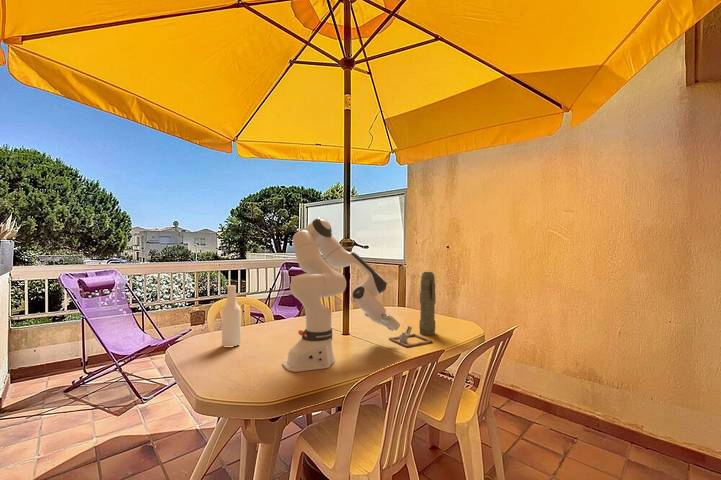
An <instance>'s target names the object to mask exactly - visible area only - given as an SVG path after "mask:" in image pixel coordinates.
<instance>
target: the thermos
mask: <svg viewBox="0 0 721 480" xmlns="http://www.w3.org/2000/svg"><path fill="white" fill-rule="evenodd" d="M435 280H436V277H435V274H434V273H433V272H432V271H424V272H422V274H421V277H420V293H419V303H420V319H419V325H418V327H419V334H420V335H422V336H430V335H431V336H434V334H436V320H435V313H436V311H435V310H436V309H435V306H436V305H435V304H436V297H437V295H436V281H435Z"/></svg>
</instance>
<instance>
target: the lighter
mask: <svg viewBox="0 0 721 480" xmlns="http://www.w3.org/2000/svg"><path fill="white" fill-rule="evenodd" d="M412 329H413V327H412V326H409V325H407V329H406V332H405V331H403V332H401V333H400V334H399V336H400V339H399V342H402V343H404V344H407V343H408V337H407V336H408V335H410V334H411V332H412Z"/></svg>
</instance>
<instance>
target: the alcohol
mask: <svg viewBox="0 0 721 480" xmlns="http://www.w3.org/2000/svg"><path fill="white" fill-rule="evenodd" d="M236 287H237V285H235V284H230V285H227V296H226V303H225V305H224V306H223V307H222V311H221V346H222V345H223V346H237V345H239V344H240V345H241V343H242V309H241V306H240V305H239V304H238V300H237V292H236V291H237V288H236ZM240 345H239V346H240ZM223 346H222V347H223Z"/></svg>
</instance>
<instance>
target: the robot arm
mask: <svg viewBox="0 0 721 480" xmlns="http://www.w3.org/2000/svg"><path fill="white" fill-rule="evenodd" d="M332 232H333V231H332V227H331V224H330V223H329V222H328V221H327V219H325V218H323V217H317V218H315V219H314V220H312V222H311V223H309V224H308V225H306V227H304V228H302V229H301V230H299V231H297V232H295V234H294V235H293V237H292V244H293V250H294V254H295V257H296V261H297V263H298V267H299V268H300V269H301V270H302V271H303V272H304V273H301V274H298V275H295V276H293V278H292V279H291V282H290V286H289V290H290V292H291V294H292V296H294V298H296V299H297V300H298V301H299V302H300V303H301V305H302V306H303V309H304V312H305V313H304V314H305V329H304V331H303V330H302V329H298V331H297V333H298V335H299V336H301V338H300V339H299V340H298V341H297V342H296V343H295V344H294V345H292V346H291V347H290V348H289V350H288V353H287V354H288V355H287V358H284V359H283V360H282V366H283V368H284V369H286V370H287V371H289V372H292V373H296V372H305V371H306V372H307V371H313V370H322V369H329V368H330V367H331V365H333V364H334V363H335V361H336V360H335V356H334V352H333V343H332V341H333V328H332V311H331V309H330V308H329V307H328V306H326V305H324V304H322V303H321V298H328V297H331V298H332V297H335V296H336V297H337V296H338V295H341V294H343V293H344V292H345V291H346V288H347V280H346V277H345V275H344V274H343V273H342V272H338V271H337V270H335V269H342V268H346V267H349V266H357V267H359V268H360V269H361V270H362V271H363V272H364V273H366V275H367V276H368V278H367V279H365V280H364V281H363V282H362V283H360V284H358V285H357V286H356V287H354V288H353V290H352V294H351V295H352V296H351V297H352V300H353V302H354V303H355V304H356V305H357V306H358V307H359V308H360V309H361V310H362V311H363V312H364V313H363V314H364V316H365V317H368V319H370V320H371V321H372V322H373V323H376V324H378V325H381V326H384V327H385V328H387V330H389V331H391V332H393V331H398V329H399V328H400V327H401V324H400V323H399V321H398V320H397V319H396V318H394V316H392V315H390V314H387V313H386V312H387V310H386V308H385V306H384V305H383V304H382V303H381V302H380V301H379V300H377V298H376V297H377V296H378V295H379V294H382V293H383V292H385V291H386V289H387V285H388V282H387V280H386V279H385V277H383V276H382V275H381V274H379V273H378V272H377V271H376V270H375V269H374V268H372V266H370V265H369V263H367V262H366V261H365V260H364V259H363V258H362V257H361V256H359V255H358V254H357V253H356V252H354V251H348V250H346V249H345V248H344V247H343V246H342V245H341V243H340V242H339V241H338V239H336V238H335V237H334V236H333V233H332ZM333 268H334V269H333Z"/></svg>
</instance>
